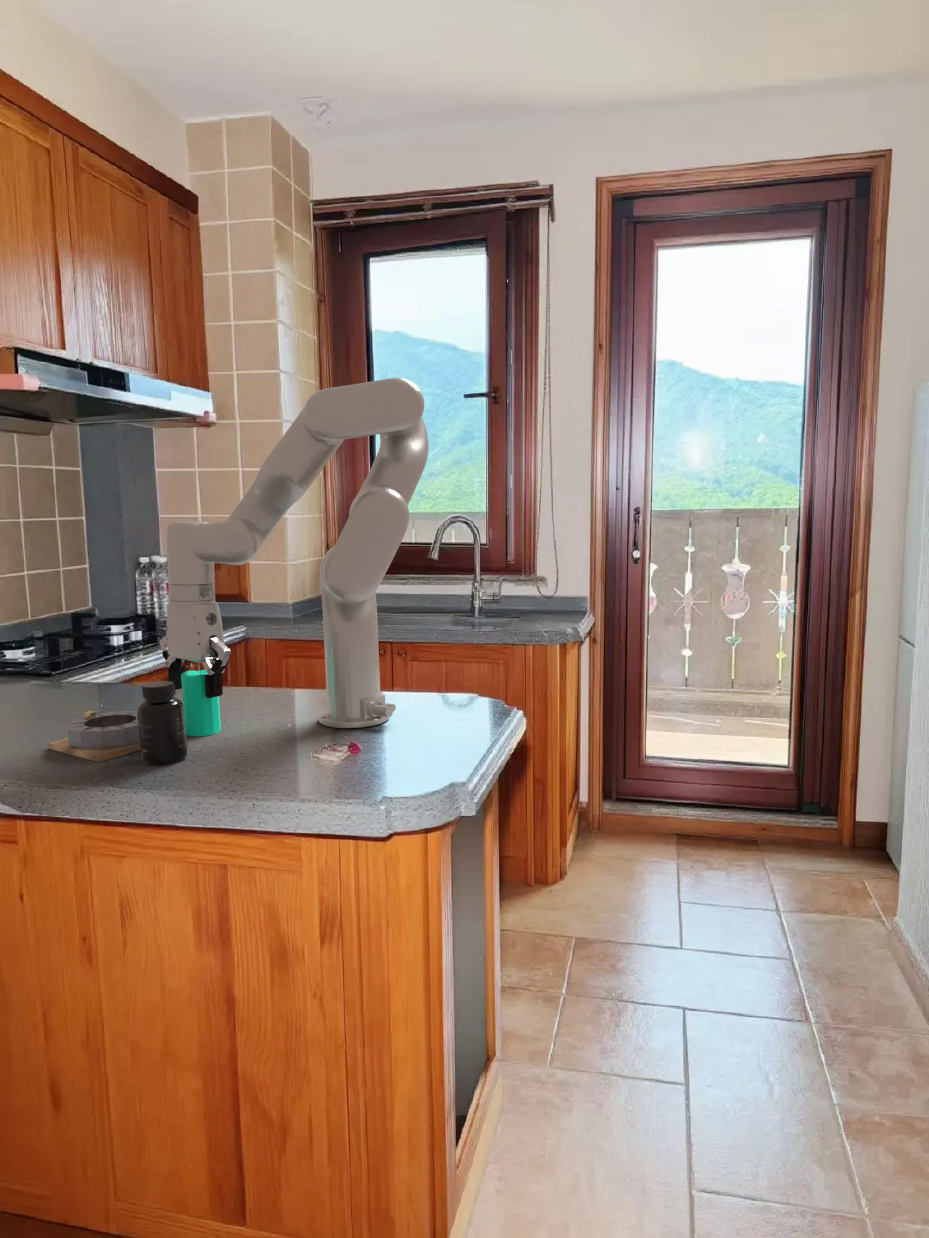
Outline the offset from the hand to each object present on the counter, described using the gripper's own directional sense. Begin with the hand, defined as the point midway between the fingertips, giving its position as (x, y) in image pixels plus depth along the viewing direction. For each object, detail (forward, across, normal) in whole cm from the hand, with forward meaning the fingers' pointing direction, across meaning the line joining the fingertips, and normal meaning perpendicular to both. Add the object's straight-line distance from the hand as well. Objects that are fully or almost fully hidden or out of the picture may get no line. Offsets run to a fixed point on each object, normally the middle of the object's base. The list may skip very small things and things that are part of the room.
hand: (195, 692), depth 151 cm
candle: (+7, -1, -1) cm, 7 cm away
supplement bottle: (+7, -8, +13) cm, 17 cm away
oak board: (+7, +6, +12) cm, 16 cm away
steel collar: (+7, +6, +12) cm, 16 cm away
